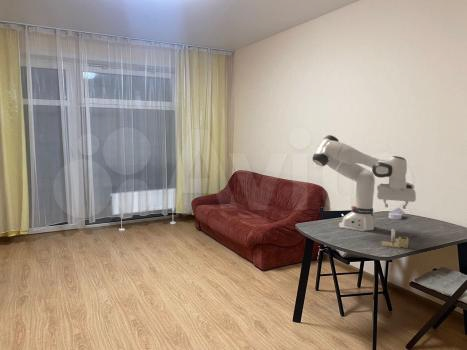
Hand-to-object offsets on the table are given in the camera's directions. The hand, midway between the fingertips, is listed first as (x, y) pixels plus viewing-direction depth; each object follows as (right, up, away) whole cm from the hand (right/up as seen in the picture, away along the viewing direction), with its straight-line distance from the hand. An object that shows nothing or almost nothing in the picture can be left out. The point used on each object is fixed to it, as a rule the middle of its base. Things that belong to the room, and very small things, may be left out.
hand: (395, 207), depth 202 cm
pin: (0, -21, +3) cm, 21 cm away
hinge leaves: (0, -21, +1) cm, 21 cm away
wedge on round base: (+30, -14, +63) cm, 71 cm away
